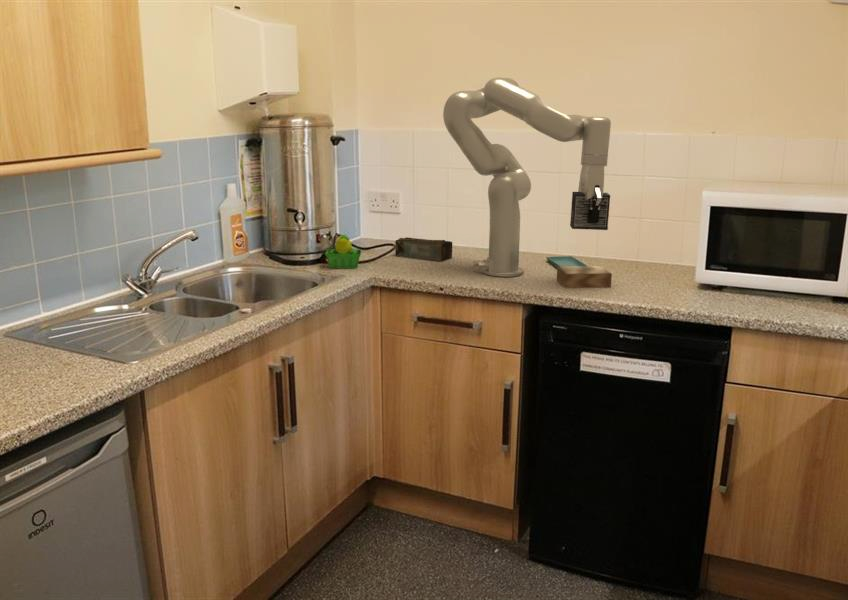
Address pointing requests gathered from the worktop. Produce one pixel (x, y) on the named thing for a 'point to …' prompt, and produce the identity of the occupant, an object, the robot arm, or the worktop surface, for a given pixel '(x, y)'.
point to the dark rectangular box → (423, 249)
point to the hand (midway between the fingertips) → (588, 220)
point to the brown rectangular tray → (583, 276)
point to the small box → (581, 212)
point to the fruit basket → (343, 254)
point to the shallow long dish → (564, 261)
